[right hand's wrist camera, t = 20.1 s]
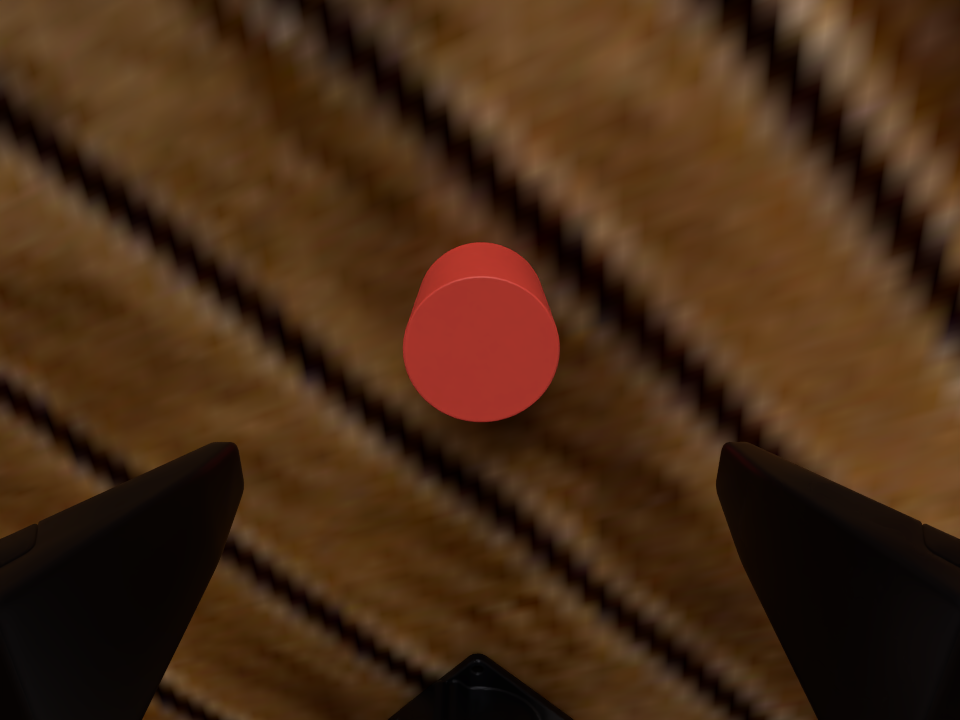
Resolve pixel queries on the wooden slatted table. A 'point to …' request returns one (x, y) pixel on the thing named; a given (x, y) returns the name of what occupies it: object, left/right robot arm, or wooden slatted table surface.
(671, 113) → the wooden slatted table surface
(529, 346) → the canister
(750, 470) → the right robot arm
